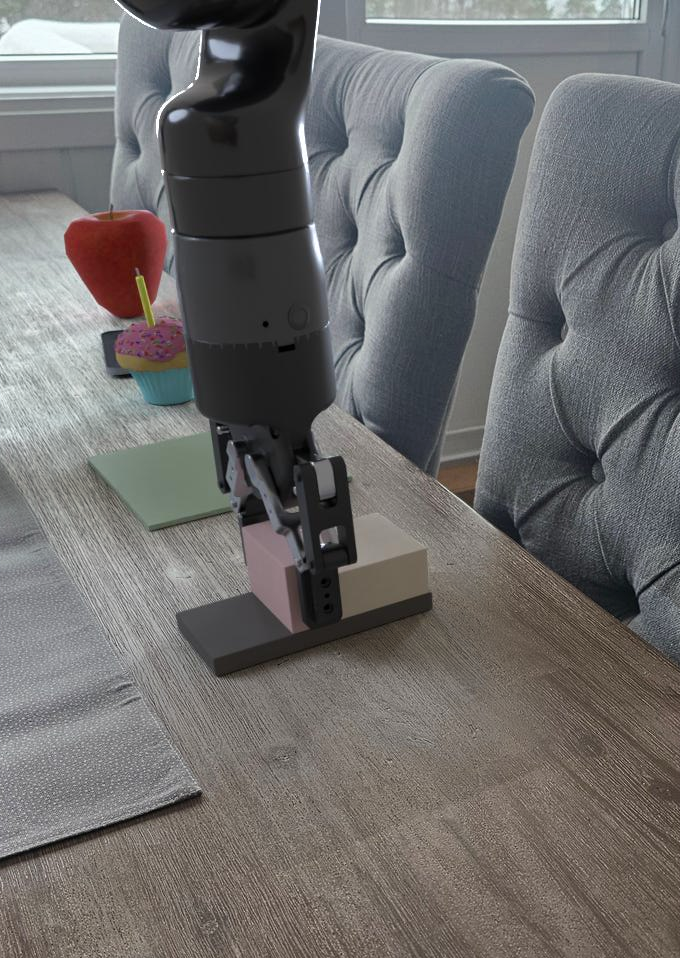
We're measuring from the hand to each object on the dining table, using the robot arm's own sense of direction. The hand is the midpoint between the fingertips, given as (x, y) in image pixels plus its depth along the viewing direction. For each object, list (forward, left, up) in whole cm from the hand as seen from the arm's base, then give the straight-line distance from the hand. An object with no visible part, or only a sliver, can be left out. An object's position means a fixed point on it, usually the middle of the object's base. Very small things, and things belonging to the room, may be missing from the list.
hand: (292, 594), depth 67 cm
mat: (+5, +26, -2) cm, 27 cm away
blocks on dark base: (+1, 0, -2) cm, 2 cm away
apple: (+14, +78, -2) cm, 79 cm away
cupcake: (+8, +46, -2) cm, 47 cm away
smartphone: (+10, +61, -2) cm, 62 cm away
